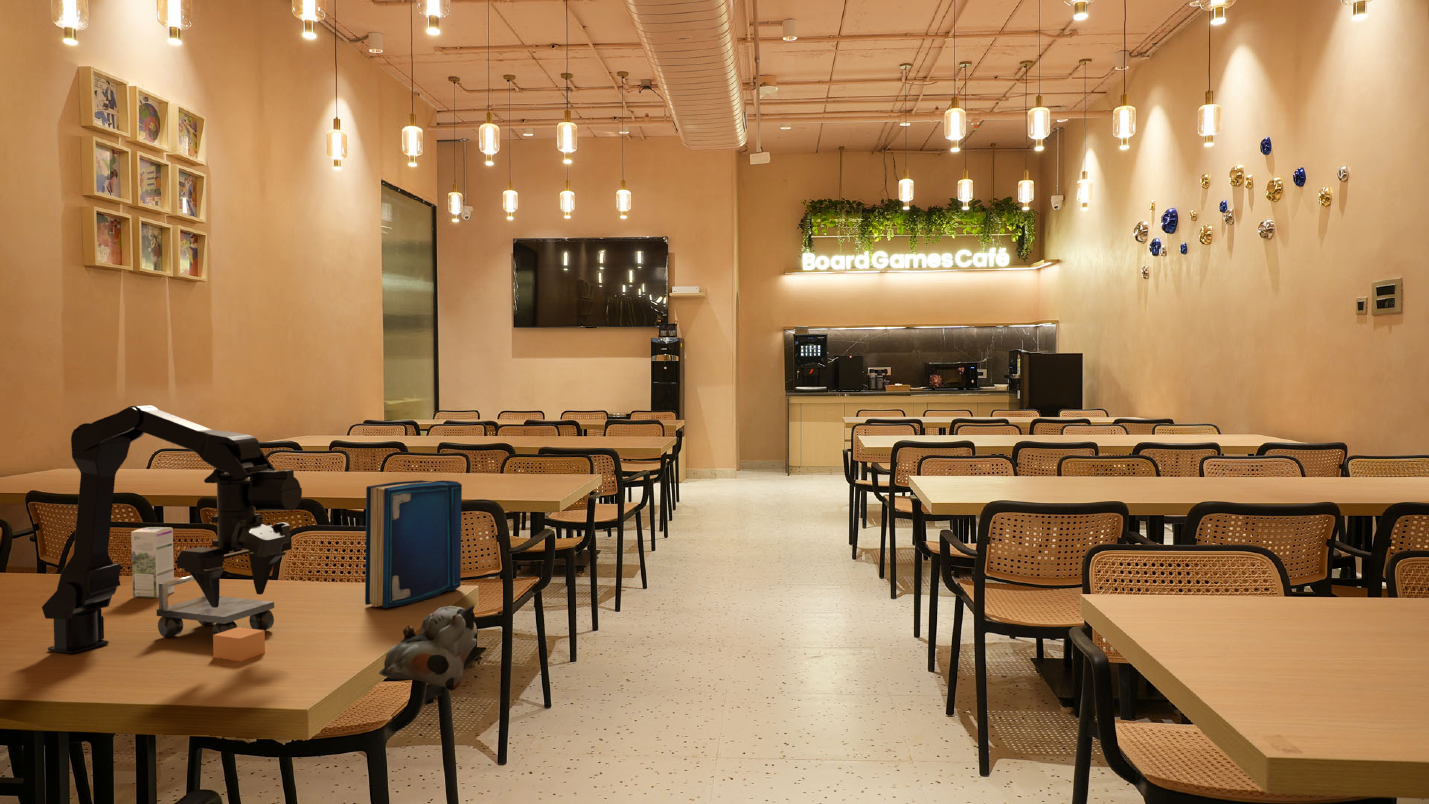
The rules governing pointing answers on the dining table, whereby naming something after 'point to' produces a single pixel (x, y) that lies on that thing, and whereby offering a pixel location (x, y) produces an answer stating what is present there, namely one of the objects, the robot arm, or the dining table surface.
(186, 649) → the dining table surface
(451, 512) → the book
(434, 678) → the cat figurine
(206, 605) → the platform trolley
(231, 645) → the orange rectangular carton
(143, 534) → the syrup box
